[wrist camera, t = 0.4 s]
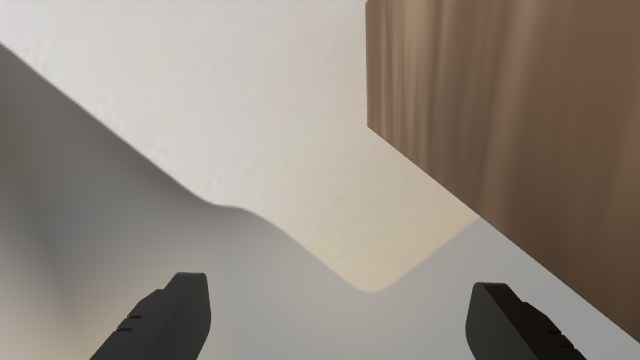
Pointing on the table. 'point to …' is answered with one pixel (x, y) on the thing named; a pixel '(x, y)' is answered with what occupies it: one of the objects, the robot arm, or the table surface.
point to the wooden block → (524, 125)
